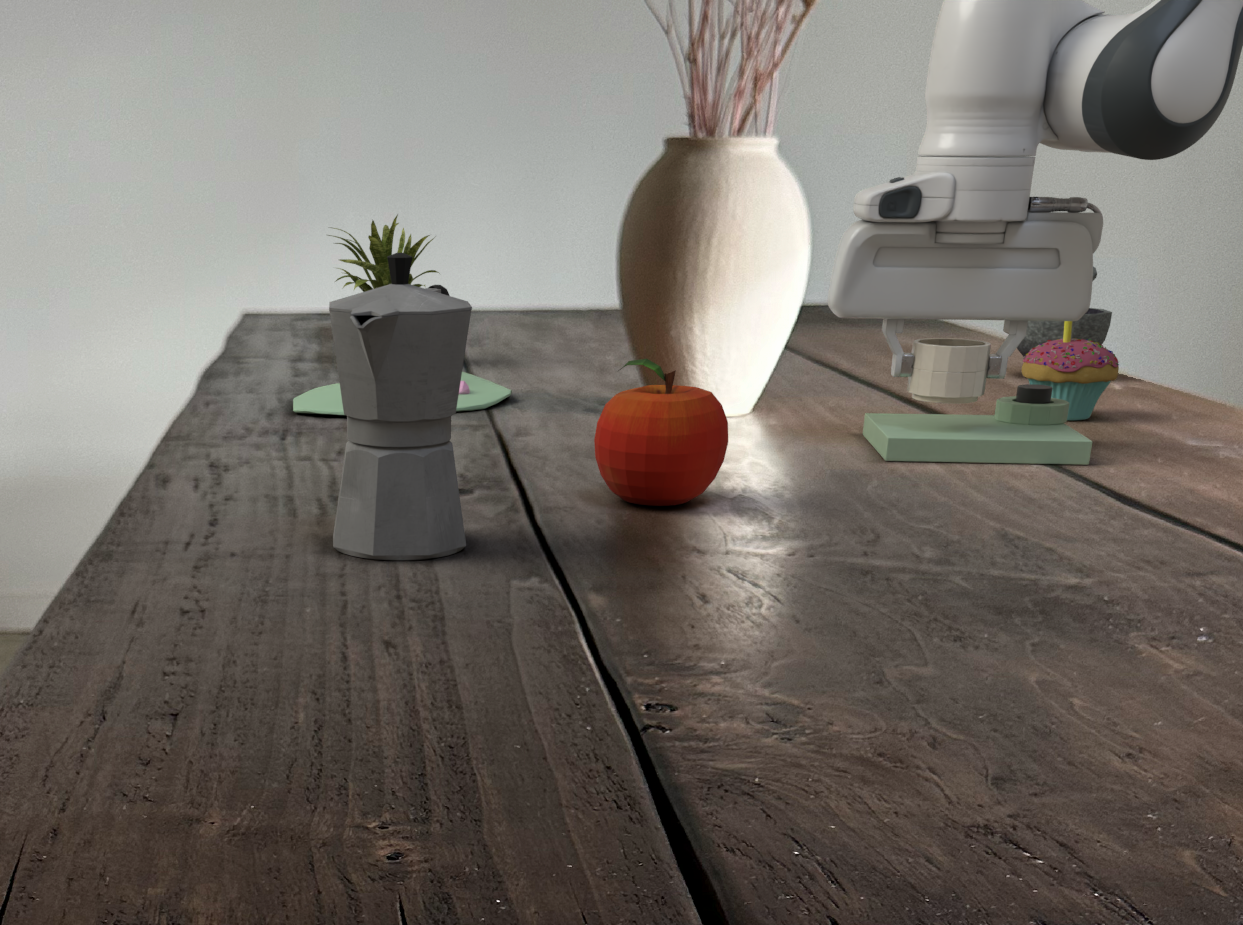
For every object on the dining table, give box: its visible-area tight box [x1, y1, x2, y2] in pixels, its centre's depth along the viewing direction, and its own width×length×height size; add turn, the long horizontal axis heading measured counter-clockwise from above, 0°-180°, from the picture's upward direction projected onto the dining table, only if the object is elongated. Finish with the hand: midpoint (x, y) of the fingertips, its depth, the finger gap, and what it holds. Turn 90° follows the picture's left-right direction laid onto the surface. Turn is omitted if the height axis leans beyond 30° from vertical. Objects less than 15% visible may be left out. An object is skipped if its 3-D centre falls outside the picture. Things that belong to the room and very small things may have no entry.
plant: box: [292, 371, 513, 416], centre depth 168 cm, size 25×21×9 cm
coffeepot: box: [328, 252, 473, 561], centre depth 109 cm, size 15×9×18 cm, turn 159°
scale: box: [862, 395, 1093, 466], centre depth 143 cm, size 16×13×4 cm
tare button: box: [1015, 383, 1052, 404], centre depth 145 cm, size 3×3×2 cm
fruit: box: [593, 358, 729, 507], centre depth 122 cm, size 10×10×10 cm
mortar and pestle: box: [1016, 266, 1113, 376], centre depth 182 cm, size 11×9×12 cm
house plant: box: [327, 214, 442, 292], centre depth 193 cm, size 14×14×16 cm
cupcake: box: [1021, 321, 1120, 421], centre depth 157 cm, size 9×8×12 cm
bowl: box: [906, 337, 992, 405], centre depth 140 cm, size 6×6×4 cm
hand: (946, 377), depth 140 cm, fingers closed on bowl, 6 cm apart
